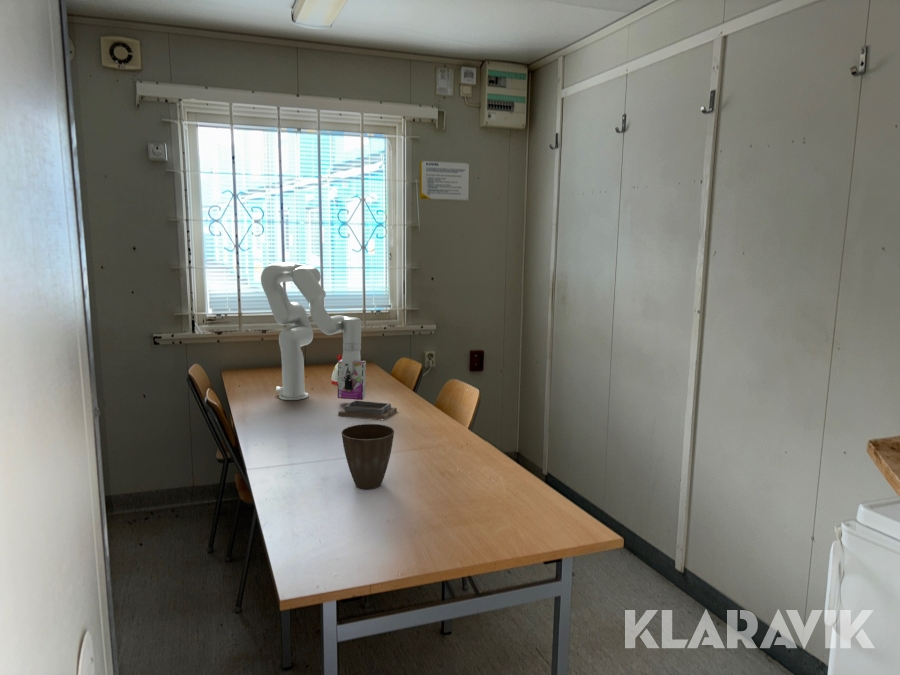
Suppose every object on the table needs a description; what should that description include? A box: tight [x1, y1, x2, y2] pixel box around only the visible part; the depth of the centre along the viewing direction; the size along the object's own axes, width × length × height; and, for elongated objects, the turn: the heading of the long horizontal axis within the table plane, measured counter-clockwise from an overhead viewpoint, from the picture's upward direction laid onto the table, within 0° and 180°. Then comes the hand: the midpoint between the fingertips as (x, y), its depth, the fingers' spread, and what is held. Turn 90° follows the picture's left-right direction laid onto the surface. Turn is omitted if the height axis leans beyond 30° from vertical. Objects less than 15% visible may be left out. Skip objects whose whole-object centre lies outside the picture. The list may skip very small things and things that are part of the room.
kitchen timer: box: [330, 353, 342, 386], centre depth 305 cm, size 14×14×15 cm
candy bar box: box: [337, 359, 367, 401], centre depth 265 cm, size 11×5×16 cm, turn 84°
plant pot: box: [341, 423, 395, 490], centre depth 178 cm, size 15×15×16 cm
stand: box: [338, 400, 398, 421], centre depth 251 cm, size 13×20×4 cm, turn 74°
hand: (351, 387), depth 265 cm, fingers closed on candy bar box, 5 cm apart
